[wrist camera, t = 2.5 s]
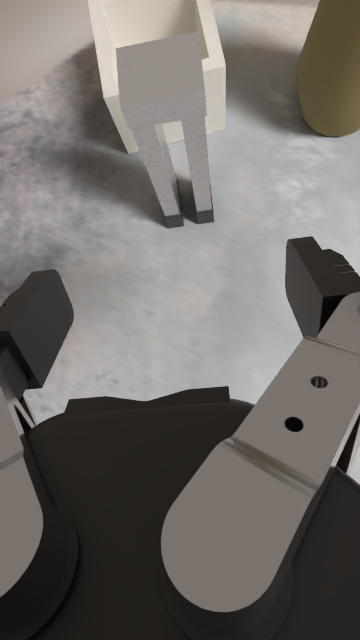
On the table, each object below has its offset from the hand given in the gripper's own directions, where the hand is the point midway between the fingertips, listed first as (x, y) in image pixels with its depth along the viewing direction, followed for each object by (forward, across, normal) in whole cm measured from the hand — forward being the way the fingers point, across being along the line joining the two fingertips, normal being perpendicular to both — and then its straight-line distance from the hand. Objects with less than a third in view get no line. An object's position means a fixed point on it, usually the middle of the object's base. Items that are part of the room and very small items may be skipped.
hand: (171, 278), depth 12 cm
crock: (+27, +1, -4) cm, 27 cm away
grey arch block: (+19, 0, +4) cm, 20 cm away
